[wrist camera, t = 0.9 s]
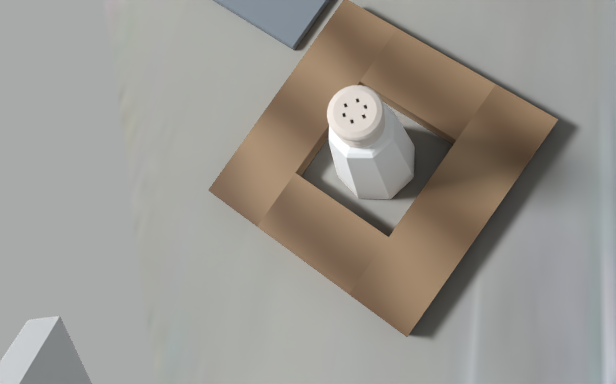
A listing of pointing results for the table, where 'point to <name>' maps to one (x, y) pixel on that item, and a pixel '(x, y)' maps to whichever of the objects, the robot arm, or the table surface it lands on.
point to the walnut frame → (433, 197)
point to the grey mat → (279, 16)
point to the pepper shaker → (369, 144)
